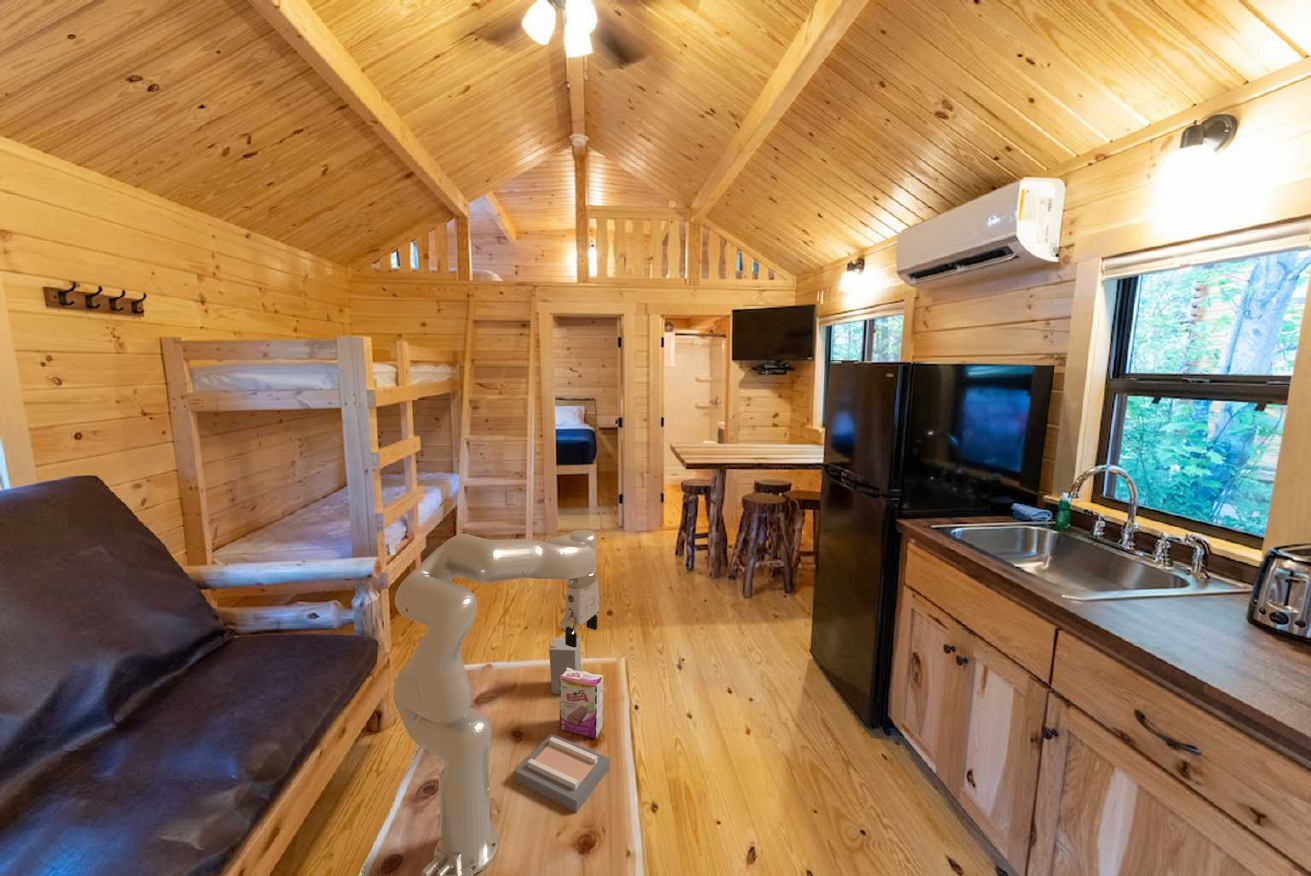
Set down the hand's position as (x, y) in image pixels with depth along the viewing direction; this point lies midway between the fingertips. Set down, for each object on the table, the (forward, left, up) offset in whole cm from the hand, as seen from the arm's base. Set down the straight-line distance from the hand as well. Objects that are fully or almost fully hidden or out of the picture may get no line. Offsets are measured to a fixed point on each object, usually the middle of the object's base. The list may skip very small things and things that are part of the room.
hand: (581, 636), depth 136 cm
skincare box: (+12, +14, -28) cm, 33 cm away
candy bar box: (0, 0, -28) cm, 28 cm away
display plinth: (-15, -5, -28) cm, 32 cm away
